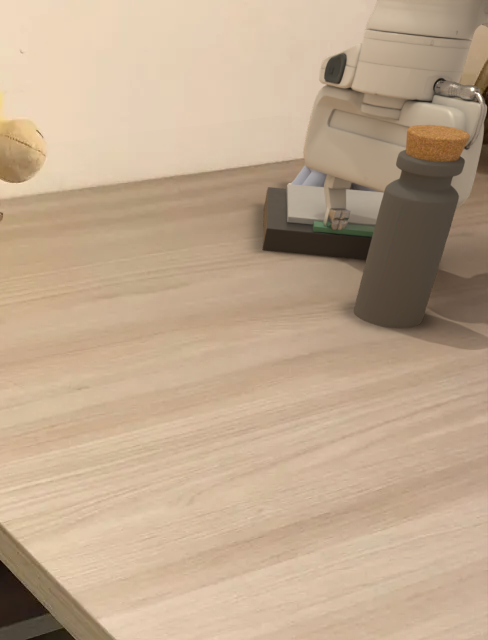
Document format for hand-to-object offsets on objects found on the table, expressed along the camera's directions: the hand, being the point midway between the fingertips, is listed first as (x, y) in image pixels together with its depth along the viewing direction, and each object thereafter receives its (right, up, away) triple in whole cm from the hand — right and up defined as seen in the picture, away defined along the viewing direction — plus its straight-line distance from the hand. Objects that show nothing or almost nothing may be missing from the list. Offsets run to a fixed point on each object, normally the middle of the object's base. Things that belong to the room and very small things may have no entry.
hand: (362, 240), depth 98 cm
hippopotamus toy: (+5, +14, +22) cm, 27 cm away
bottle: (0, -10, -7) cm, 12 cm away
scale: (+1, +4, +10) cm, 11 cm away
